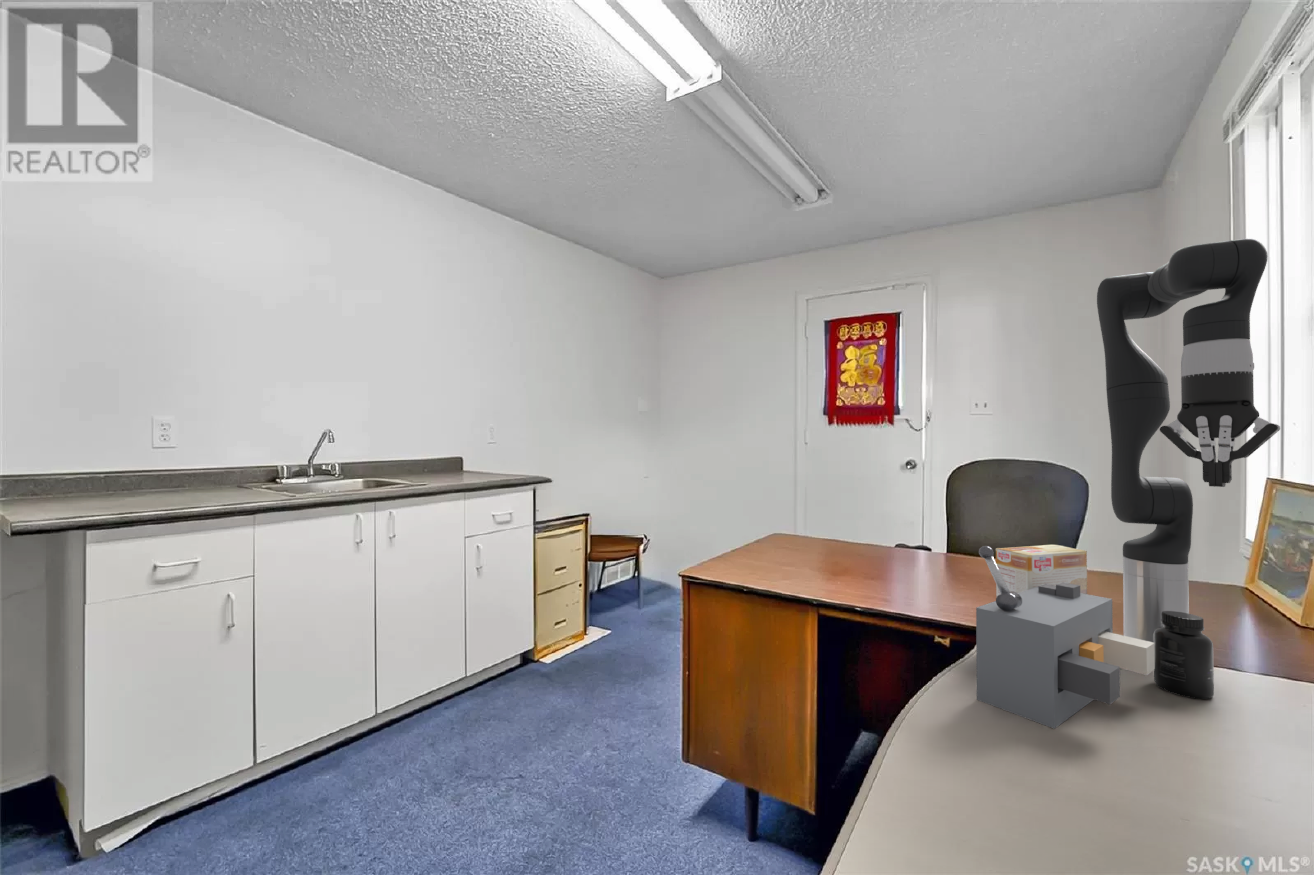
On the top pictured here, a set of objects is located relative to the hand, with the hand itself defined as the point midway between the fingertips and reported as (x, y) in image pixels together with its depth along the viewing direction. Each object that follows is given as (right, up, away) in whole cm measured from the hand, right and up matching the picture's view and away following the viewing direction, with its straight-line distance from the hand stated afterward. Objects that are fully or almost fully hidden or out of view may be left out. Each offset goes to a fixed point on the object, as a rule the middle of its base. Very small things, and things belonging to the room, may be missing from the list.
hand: (1217, 486), depth 80 cm
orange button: (-22, -28, +1) cm, 36 cm away
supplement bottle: (-1, -33, +4) cm, 34 cm away
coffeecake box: (-12, -34, +20) cm, 41 cm away
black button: (-26, -28, -7) cm, 39 cm away
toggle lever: (-31, -19, -1) cm, 37 cm away
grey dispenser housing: (-24, -33, +3) cm, 41 cm away
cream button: (-13, -28, +2) cm, 31 cm away
